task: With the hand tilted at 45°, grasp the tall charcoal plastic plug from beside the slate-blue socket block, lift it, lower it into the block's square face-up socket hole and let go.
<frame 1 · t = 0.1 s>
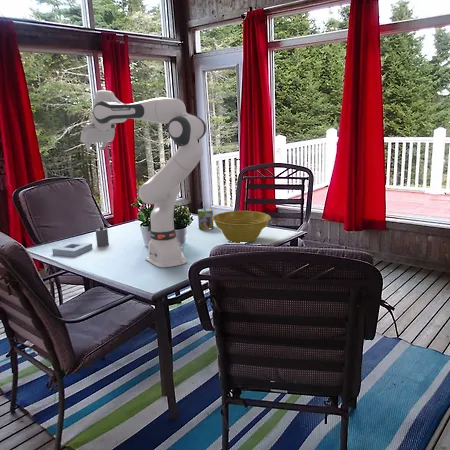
hand: (95, 150, 208), 52 cm above the table, tool tilted 20°, fingers open, 8 cm apart
planter bowl: (241, 240, 231), on the table
plug: (103, 245, 228), on the table
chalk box: (205, 228, 260), on the table
socket: (73, 251, 218), on the table
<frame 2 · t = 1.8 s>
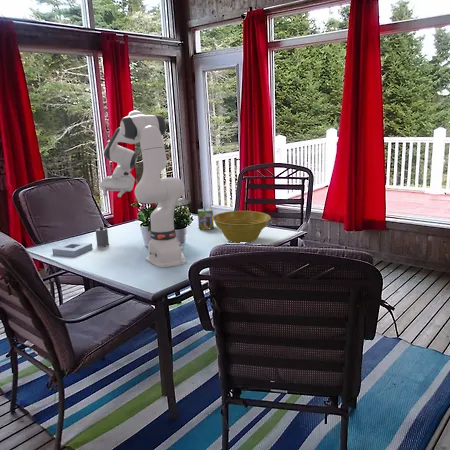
hand: (111, 196, 233), 25 cm above the table, tool tilted 45°, fingers open, 8 cm apart
nothing on the table moved.
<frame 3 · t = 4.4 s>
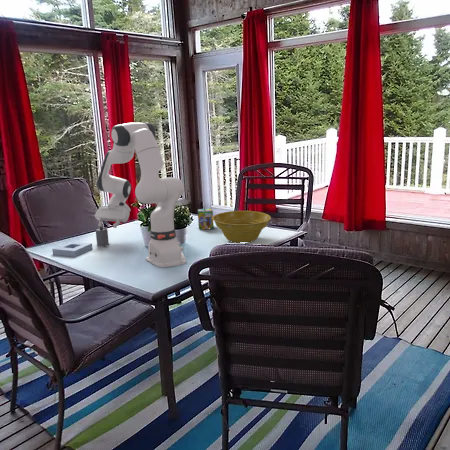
hand: (107, 226, 231), 9 cm above the table, tool tilted 45°, fingers open, 8 cm apart
nothing on the table moved.
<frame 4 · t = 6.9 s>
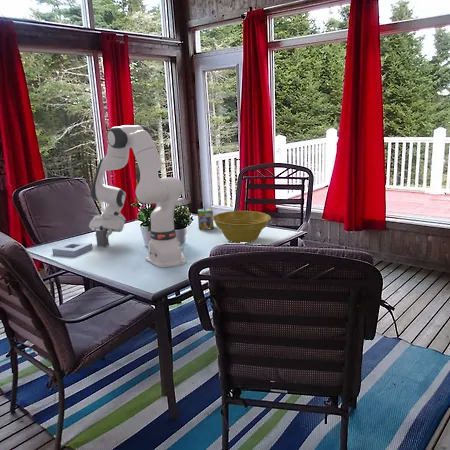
hand: (101, 236, 227), 5 cm above the table, tool tilted 45°, fingers closed on plug, 4 cm apart
plug: (103, 245, 228), on the table, touching gripper
everything else where it was.
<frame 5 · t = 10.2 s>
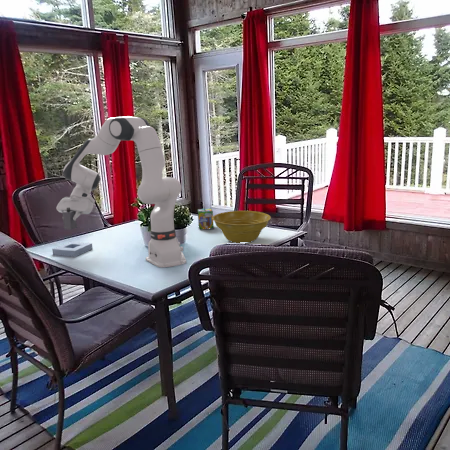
hand: (68, 219, 214), 17 cm above the table, tool tilted 45°, fingers closed on plug, 4 cm apart
plug: (70, 228, 216), point 13 cm above the table, touching gripper
everything else where it was.
when the fingers open (6 cm above the table, at t = 13.6 s): plug drops 1 cm, resting in socket.
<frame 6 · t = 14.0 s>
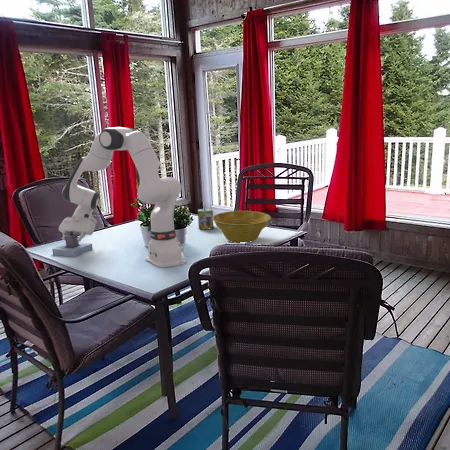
hand: (70, 240, 216), 6 cm above the table, tool tilted 45°, fingers open, 8 cm apart
plug: (73, 251, 218), resting in socket
everything else where it was.
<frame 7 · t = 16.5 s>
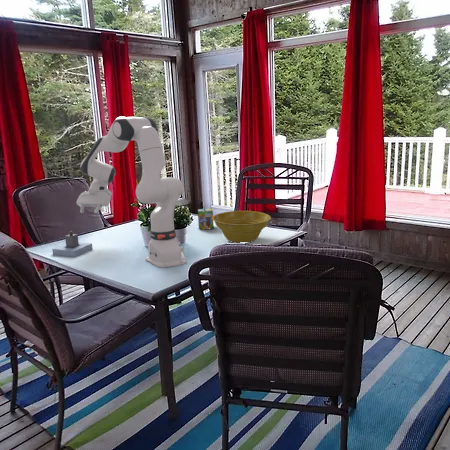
hand: (88, 212, 225), 18 cm above the table, tool tilted 45°, fingers open, 8 cm apart
nothing on the table moved.
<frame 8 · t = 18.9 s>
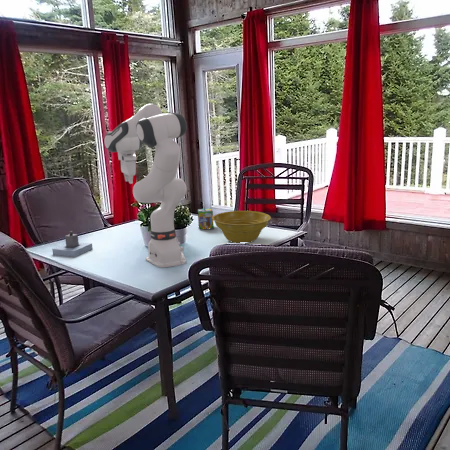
hand: (128, 182, 222), 34 cm above the table, tool pointing down, fingers open, 8 cm apart
nothing on the table moved.
at the end: plug 0.1 cm off-centre on the socket, point 0.0 cm above the socket's base; plug tilted 0°; the gripper is holding nothing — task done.
